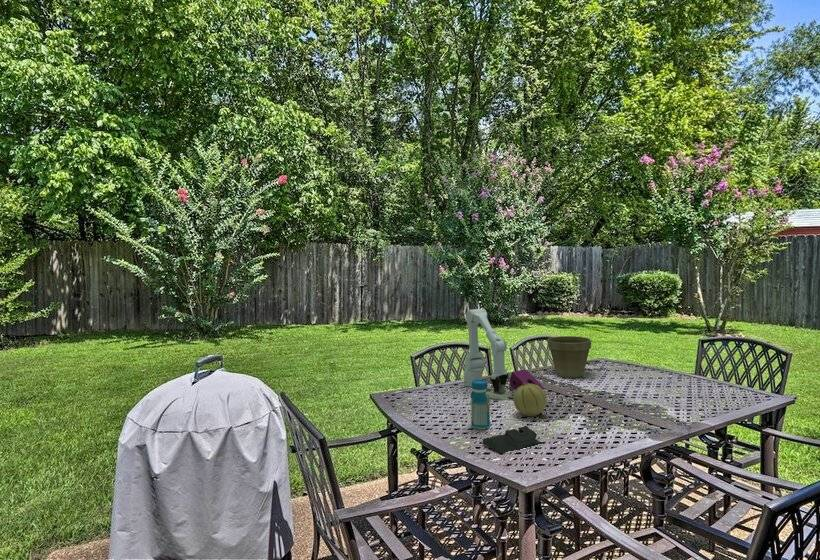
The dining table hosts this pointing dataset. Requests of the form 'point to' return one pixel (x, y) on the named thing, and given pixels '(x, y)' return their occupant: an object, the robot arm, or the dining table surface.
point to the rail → (497, 394)
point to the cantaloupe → (530, 399)
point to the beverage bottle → (480, 405)
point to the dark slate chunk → (512, 440)
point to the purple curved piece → (522, 379)
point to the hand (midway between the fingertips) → (499, 389)
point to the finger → (501, 389)
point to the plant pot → (569, 355)
